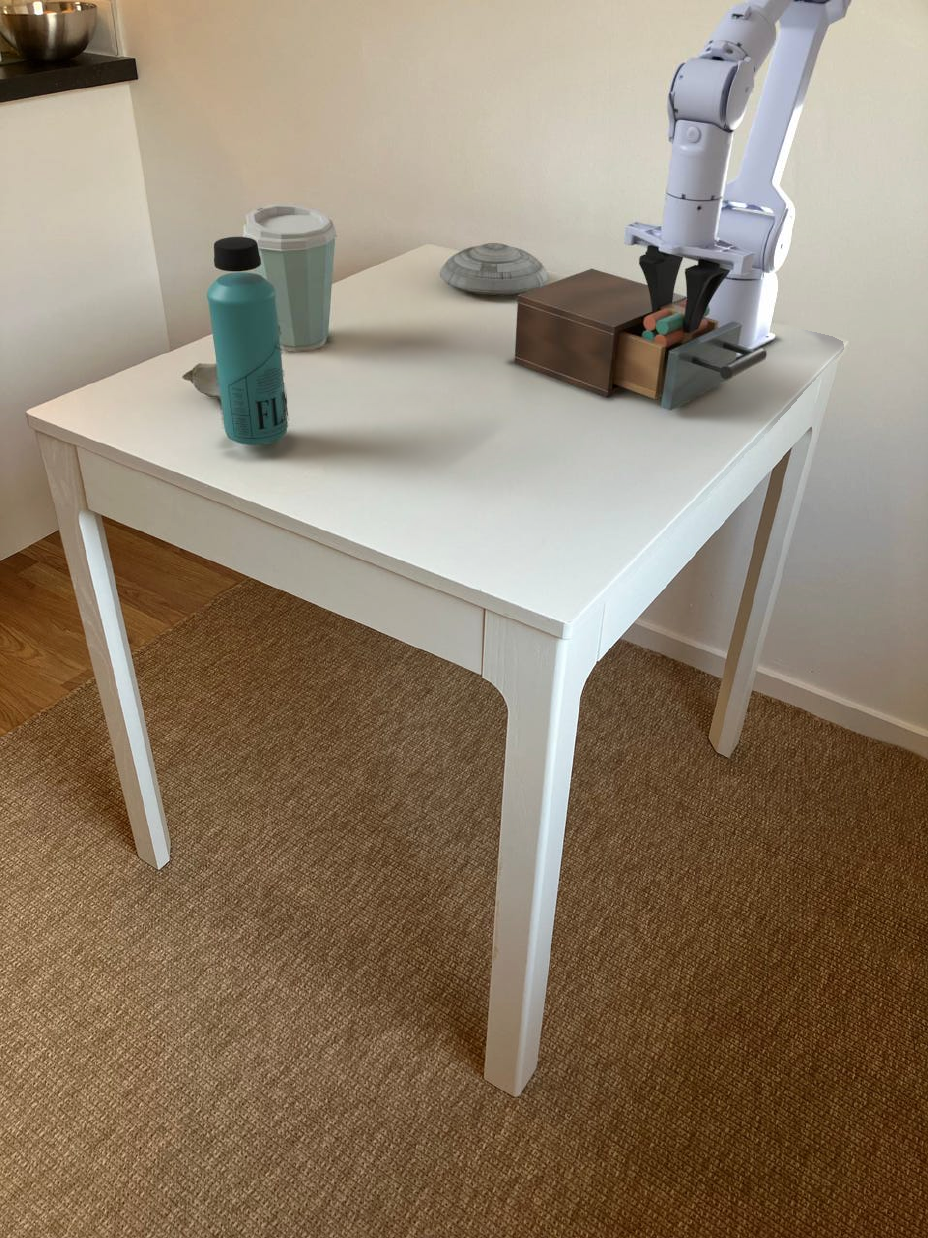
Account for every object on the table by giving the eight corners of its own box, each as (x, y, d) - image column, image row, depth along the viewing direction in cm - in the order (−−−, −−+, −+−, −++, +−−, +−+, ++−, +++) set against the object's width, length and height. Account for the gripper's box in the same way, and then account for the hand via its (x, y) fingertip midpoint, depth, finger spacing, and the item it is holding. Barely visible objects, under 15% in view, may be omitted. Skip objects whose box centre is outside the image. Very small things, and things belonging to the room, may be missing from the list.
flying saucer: (512, 311, 136) (514, 269, 133) (418, 288, 143) (418, 247, 139) (567, 280, 146) (570, 240, 143) (477, 260, 153) (478, 221, 150)
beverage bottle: (261, 466, 101) (239, 256, 89) (210, 448, 103) (182, 242, 92) (304, 440, 105) (288, 237, 93) (254, 424, 108) (232, 225, 96)
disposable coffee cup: (360, 338, 127) (355, 211, 118) (304, 367, 120) (294, 234, 111) (293, 320, 132) (283, 196, 123) (235, 347, 125) (220, 217, 116)
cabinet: (676, 364, 123) (686, 296, 118) (607, 398, 115) (614, 326, 110) (585, 333, 130) (591, 268, 126) (514, 362, 122) (517, 294, 118)
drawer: (770, 390, 115) (782, 335, 111) (709, 425, 108) (719, 367, 104) (641, 347, 125) (648, 295, 121) (577, 376, 117) (582, 321, 114)
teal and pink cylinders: (665, 351, 110) (670, 322, 108) (639, 342, 112) (643, 313, 110) (707, 332, 115) (711, 303, 113) (681, 324, 117) (685, 295, 115)
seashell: (239, 427, 111) (278, 384, 116) (237, 405, 109) (276, 362, 113) (173, 401, 113) (214, 359, 117) (169, 379, 110) (211, 337, 115)
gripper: (612, 186, 106) (599, 316, 114) (736, 215, 98) (712, 353, 106) (652, 174, 111) (637, 301, 119) (774, 202, 103) (749, 335, 111)
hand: (675, 325), depth 113 cm, fingers closed on teal and pink cylinders, 3 cm apart
